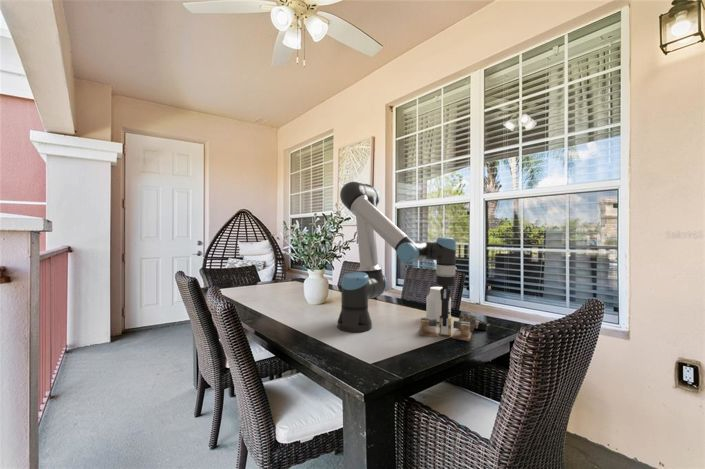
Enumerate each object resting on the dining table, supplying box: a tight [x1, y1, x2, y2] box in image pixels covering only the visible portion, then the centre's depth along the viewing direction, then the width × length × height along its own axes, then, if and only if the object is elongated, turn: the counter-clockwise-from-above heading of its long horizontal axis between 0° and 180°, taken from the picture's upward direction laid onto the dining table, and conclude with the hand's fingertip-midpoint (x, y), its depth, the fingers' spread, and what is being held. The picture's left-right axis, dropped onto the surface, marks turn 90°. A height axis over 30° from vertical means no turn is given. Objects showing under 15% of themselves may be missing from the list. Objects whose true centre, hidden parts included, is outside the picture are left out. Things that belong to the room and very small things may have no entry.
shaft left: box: [419, 317, 438, 337], centre depth 136 cm, size 6×8×6 cm
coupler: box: [438, 315, 452, 337], centre depth 135 cm, size 5×5×7 cm
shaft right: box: [451, 320, 473, 342], centre depth 132 cm, size 6×8×6 cm
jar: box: [425, 286, 452, 323], centre depth 157 cm, size 12×10×15 cm
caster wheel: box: [458, 311, 488, 333], centre depth 143 cm, size 7×11×10 cm
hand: (444, 331), depth 135 cm, fingers open, 5 cm apart
